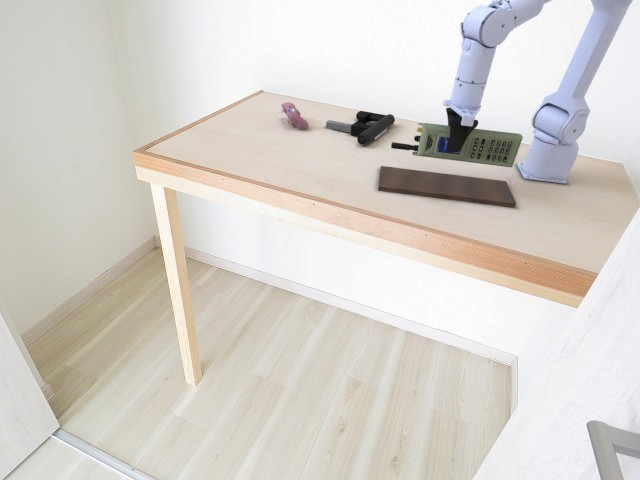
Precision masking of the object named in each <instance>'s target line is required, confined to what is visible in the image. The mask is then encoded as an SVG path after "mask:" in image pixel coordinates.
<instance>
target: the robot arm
mask: <svg viewBox="0 0 640 480" xmlns="http://www.w3.org/2000/svg"><path fill="white" fill-rule="evenodd" d="M551 1H553V0H491V2H490V3H489V4H488V5H487V6H486V5H476V6H474V7H473V8H472V9H471V10H470V11H469V12H467V14H466V15H465V17H464V19H463V21H461V22H460V27H459V28H460V35H461V37H462V41H461V46H460V47H461V53H460V57H459V61H458V66H457V70H456V74H455V78H454V83H453V87H452V90H451V95H450V99H443V102H442V105H443V106H444V107H446V108H445V111H446V117H447V125H448V126H450V137H449V151H451V152H460V150H461V149H462V147H463V145H464V143H465V141H466V139H467V138H468V136H469V134H470V133H471V132H472V131H473V130H474V129H477V127H478V125H479V121H478V119H475V118H476V115H477V114H478V113H479V112H480V111H481V107H482V105H481V103H482V100H483V97H484V93H485V91H486V90H485V89H486V86H487V82H488V79H489V75H490V72H491V69H492V65H493V61H494V59H495V54H496V52H497V47H498V46H500V45H501V44H503V43H504V42H505V41H506V39H507V37H508V36H509V34H510V33H511V32H512V31H514V30H515V29H516V28H517V27H520V26H522V25H523V24H525V23H527V22H529V21H531V20H532V19H534V18H536V17H537V16H539V15H540V14H541V12H542V11H543V8H544V5H546V4H548V3H549V2H551ZM633 1H634V0H590V2H591V4H592V6H593V11H592V13H591V15H590V18H589V19H588V22H587V24H586V27H585V28H584V30H583V33H582V35H581V37H580V40H579V41H578V44H577V46H576V48H575V51H574V53H573V54H572V57H571V59H570V61H569V64H568V66H567V68H566V70H565V72H564V75H563V76H562V79H561V81H560V83H559V86H558V88H557V90H556V91H554V92H553V93H550V94H548V95H545V96H544V97H543V100H542V102H541V104H540V105H539V106H538V107H537V109H536V110H535V111H534V113H533V114H532V117H531V126H532V128H533V130H532V134H534V136H533V138H532V141H531V143H530V146H529V149H528V151H527V154H526V157H525V158H524V161H523V162H517V163H516V166H517V168H518V169H519V171H520V173H521V175H522V177H523V179H525V180H529V181H537V182H538V181H539V182H547V183H548V182H549V183H556V184H564V185H566V184H567V183H568V181H567V179H568V178H569V175H570V174H571V170H572V168H573V166H574V165H575V162H576V160H577V157H578V154H579V144H578V139H579V138H581V136H582V135H583V134H584V132H585V130H586V126H587V120H588V118H589V115H590V113H591V108H590V107H589V105H588V103H587V101H586V99H585V96H586V95H587V93H588V91H589V89H590V86H591V84H592V82H593V81H594V79H595V77H596V74H597V72H598V70H599V69H600V66H601V64H602V63H603V60H604V58H605V56H606V54H607V52H608V50H609V48H610V46H611V44H612V42H613V40H614V38H615V36H616V34H617V31H619V28H620V25H621V24H622V22H623V20H624V18H625V16H626V14H627V12H628V10H629V8H630V6H631V4H632V3H633Z"/></svg>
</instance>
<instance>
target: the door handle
mask: <svg viewBox="0 0 640 480" xmlns="http://www.w3.org/2000/svg"><path fill="white" fill-rule="evenodd" d="M355 117H356V119H357V121H355V122H354V123H352V124H351V123H347V122H341V121H335V120H331V119H329V120H326V122H325V127H326V129H331V130H336V131H340V132H344V133H345V132H346V133H350V136H351V137H356V138H357V139H356V141H357V143H358V144H359V145H364V146H365V145H367V144H368V143H370V142H372V141H376V140H377V139H379V138H380V137H381V136H382V135H384V134H385V133H386V132H387V131H388V128H389V127H391V126H392V125H394V124H395V122H396V118H395V116H394V115H393V114H391V113H390V114H381V113H377V112H370V111H366V110H359V111H358V112H357V113H356V114H355ZM368 123H369V124H368Z"/></svg>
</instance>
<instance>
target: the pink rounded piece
mask: <svg viewBox="0 0 640 480" xmlns="http://www.w3.org/2000/svg"><path fill="white" fill-rule="evenodd" d="M280 112H281V113H282V114H285V115H286V117H287V119H288V121H289V125H292V127H297V128H299V129H301V130H308V128H309V123H308V121H307V120H306V119H304V118H303V117H302V116H301V111H299V109H297V108H296V105H295V104H294V103H293V102H290V101H289V100H288V101H287V102H286V101H285V102H284V103H283V102H282V104H281V110H280Z"/></svg>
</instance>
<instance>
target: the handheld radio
mask: <svg viewBox="0 0 640 480" xmlns="http://www.w3.org/2000/svg"><path fill="white" fill-rule="evenodd" d="M417 126H418V127H417V128H416V132H417V133H420V135H415V136H414V137H413V140H414V142H417V143H418V144H410V143H401V142H396V141H395V142H394V141H393V142H391V145H390V148H391V149H393V150H394V149H395V150H402V151H412V153H411V156H417V157H423V158H424V157H425V158H432V159H441V160H448V161H456V162H464V163H465V162H466V163H471V164H479V165H480V164H481V165H489V166H495V167H505V168H513V167H514V163H515V161H516V157H517V154H518V152H519V149H520V147H521V144H522V140H523V138H524V136H523V135H522V134H521V133H515V132H507V131H499V130H491V129H490V130H489V129H483V128H482V129H481V128H475V129H474V130H473V131H472V132H471V133H470V134H469V136H468V138H467V139H466V141H465V143H464V145H463V147H462V149H461V150H460V152H451V151H449V137H450V126H448V124H437V123H429V122H418V123H417ZM419 126H421V127H419Z"/></svg>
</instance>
